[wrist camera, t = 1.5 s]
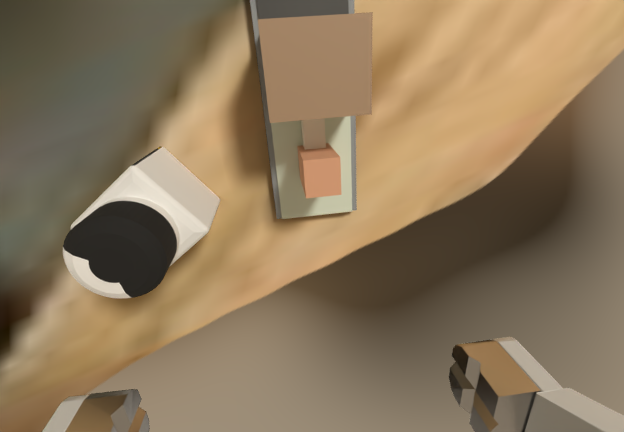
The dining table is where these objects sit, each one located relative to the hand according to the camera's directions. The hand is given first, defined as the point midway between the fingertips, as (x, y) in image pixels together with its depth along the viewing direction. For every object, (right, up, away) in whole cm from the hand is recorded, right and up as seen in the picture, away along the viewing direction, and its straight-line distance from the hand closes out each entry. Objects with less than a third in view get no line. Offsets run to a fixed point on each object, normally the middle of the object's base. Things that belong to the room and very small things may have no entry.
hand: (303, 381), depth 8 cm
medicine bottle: (-13, +6, +22) cm, 27 cm away
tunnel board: (0, +14, +20) cm, 25 cm away
